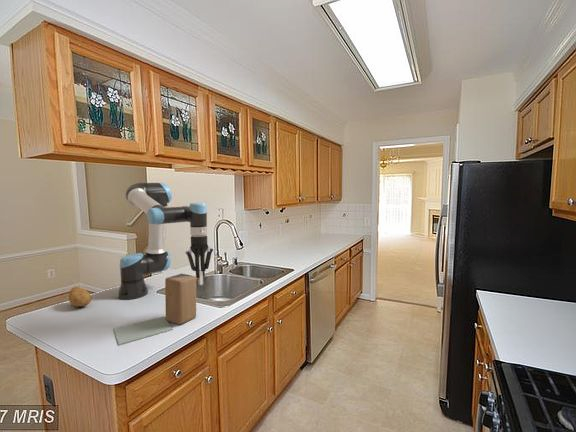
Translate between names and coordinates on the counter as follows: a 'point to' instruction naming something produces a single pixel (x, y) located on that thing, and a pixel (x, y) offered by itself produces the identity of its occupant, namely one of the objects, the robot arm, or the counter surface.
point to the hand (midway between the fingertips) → (200, 284)
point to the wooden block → (180, 298)
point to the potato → (79, 297)
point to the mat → (141, 330)
